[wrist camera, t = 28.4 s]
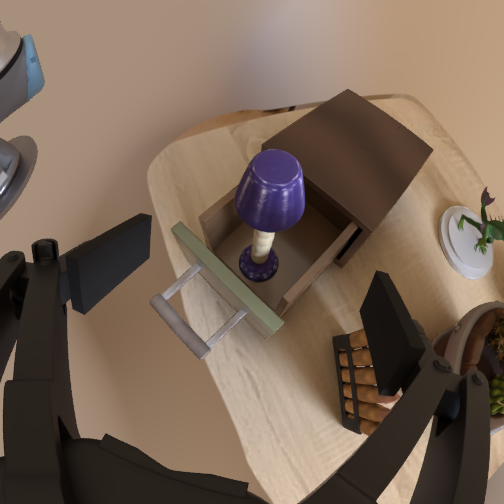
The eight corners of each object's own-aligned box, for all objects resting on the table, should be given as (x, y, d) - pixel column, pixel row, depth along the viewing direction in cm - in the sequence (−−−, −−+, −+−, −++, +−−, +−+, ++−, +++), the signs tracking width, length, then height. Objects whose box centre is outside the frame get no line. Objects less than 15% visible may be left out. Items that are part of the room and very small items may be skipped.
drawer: (226, 380, 27) (219, 385, 20) (148, 295, 31) (120, 272, 23) (356, 243, 33) (382, 211, 26) (280, 180, 37) (286, 138, 29)
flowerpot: (485, 401, 26) (594, 391, 7) (402, 446, 24) (523, 484, 6) (471, 307, 31) (578, 255, 12) (387, 336, 30) (517, 289, 11)
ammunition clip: (358, 423, 26) (412, 446, 15) (342, 427, 26) (391, 454, 15) (347, 334, 30) (398, 314, 19) (332, 337, 30) (377, 319, 19)
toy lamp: (287, 252, 31) (321, 146, 16) (276, 292, 30) (307, 209, 14) (245, 240, 32) (243, 128, 16) (232, 279, 30) (217, 186, 15)
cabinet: (341, 268, 33) (373, 232, 24) (258, 196, 37) (261, 144, 28) (403, 190, 38) (433, 149, 29) (332, 136, 41) (347, 88, 32)
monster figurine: (457, 289, 32) (506, 264, 22) (426, 214, 36) (463, 174, 27) (499, 267, 33) (540, 242, 24) (470, 203, 38) (504, 169, 28)
